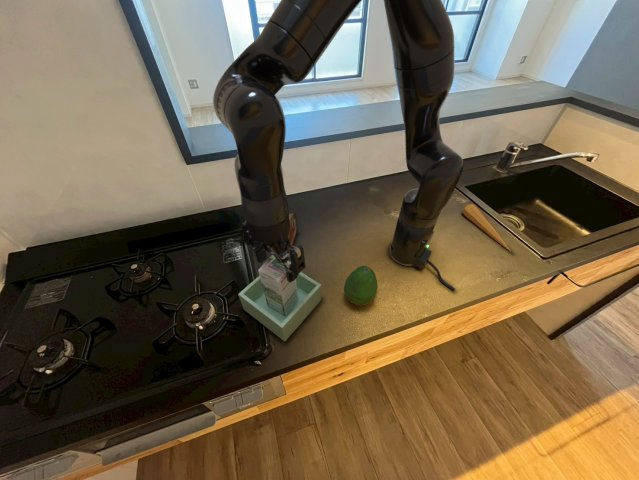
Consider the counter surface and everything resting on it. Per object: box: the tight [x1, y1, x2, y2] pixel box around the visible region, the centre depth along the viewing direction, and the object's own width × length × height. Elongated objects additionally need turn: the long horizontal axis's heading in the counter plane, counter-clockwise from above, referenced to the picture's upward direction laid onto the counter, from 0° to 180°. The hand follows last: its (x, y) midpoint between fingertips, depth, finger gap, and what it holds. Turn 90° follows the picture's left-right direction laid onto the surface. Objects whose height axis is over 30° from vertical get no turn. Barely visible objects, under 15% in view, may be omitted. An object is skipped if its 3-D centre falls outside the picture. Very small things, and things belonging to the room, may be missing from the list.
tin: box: [280, 212, 298, 258], centre depth 81 cm, size 15×3×8 cm, turn 168°
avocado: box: [343, 265, 379, 306], centre depth 66 cm, size 8×8×12 cm
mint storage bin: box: [238, 271, 322, 342], centre depth 67 cm, size 14×14×7 cm
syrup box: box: [257, 254, 298, 316], centre depth 64 cm, size 6×6×14 cm
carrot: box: [462, 203, 512, 253], centre depth 87 cm, size 20×4×4 cm, turn 21°
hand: (277, 269), depth 59 cm, fingers open, 8 cm apart
